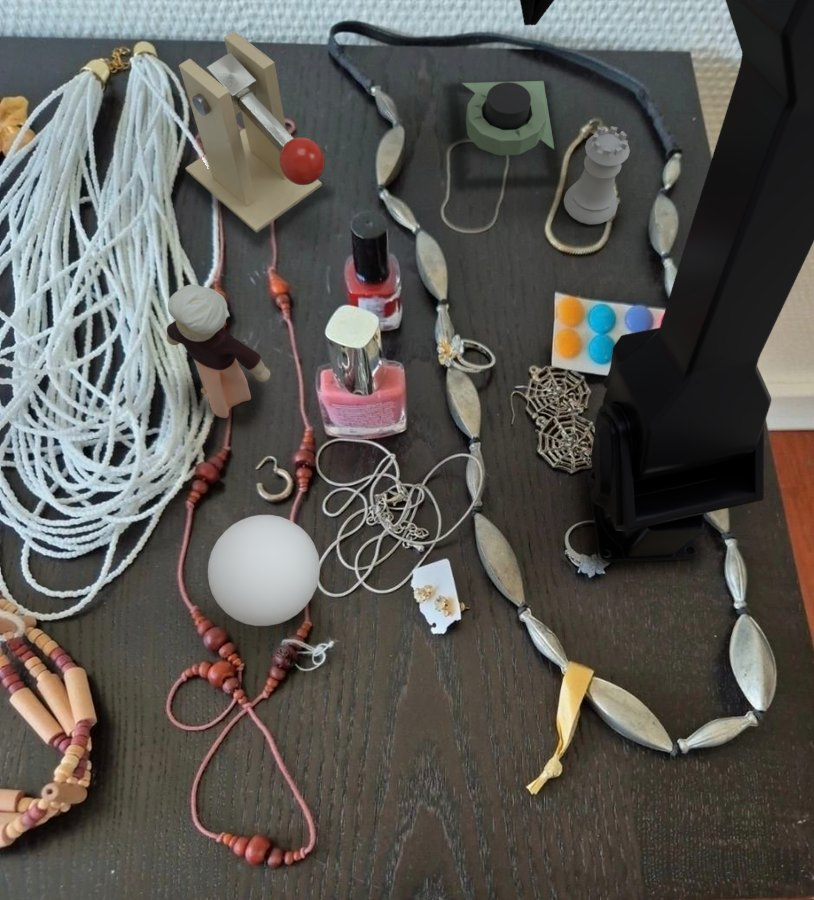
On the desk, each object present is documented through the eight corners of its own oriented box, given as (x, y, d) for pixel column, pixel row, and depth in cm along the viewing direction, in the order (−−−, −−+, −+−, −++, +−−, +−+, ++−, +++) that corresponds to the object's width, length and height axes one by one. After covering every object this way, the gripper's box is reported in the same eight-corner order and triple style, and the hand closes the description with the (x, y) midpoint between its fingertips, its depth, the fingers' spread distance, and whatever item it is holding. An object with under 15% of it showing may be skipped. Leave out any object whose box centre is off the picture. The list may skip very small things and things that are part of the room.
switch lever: (331, 178, 58) (336, 152, 55) (298, 201, 57) (301, 177, 54) (236, 74, 58) (235, 44, 55) (202, 96, 57) (199, 66, 54)
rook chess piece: (570, 241, 63) (592, 167, 56) (551, 199, 65) (570, 122, 57) (622, 229, 64) (651, 155, 56) (602, 188, 65) (627, 110, 58)
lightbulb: (337, 562, 52) (321, 504, 42) (324, 655, 50) (304, 618, 39) (245, 553, 52) (209, 493, 42) (228, 645, 50) (184, 606, 40)
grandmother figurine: (173, 411, 57) (115, 310, 45) (192, 366, 58) (140, 258, 47) (275, 435, 56) (243, 338, 44) (291, 388, 57) (264, 284, 46)
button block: (557, 182, 66) (562, 159, 63) (461, 185, 65) (463, 162, 63) (542, 87, 70) (547, 63, 68) (452, 89, 70) (454, 65, 68)
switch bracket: (323, 193, 65) (307, 71, 54) (258, 240, 63) (228, 123, 52) (253, 134, 68) (224, 7, 57) (188, 178, 66) (146, 55, 55)
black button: (530, 130, 65) (533, 113, 63) (486, 131, 65) (488, 114, 63) (525, 98, 67) (528, 81, 65) (483, 99, 66) (485, 82, 65)
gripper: (720, -336, 44) (642, -57, 58) (387, -331, 44) (390, -51, 58) (767, -225, 39) (670, 48, 54) (394, -218, 39) (396, 56, 53)
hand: (529, 21), depth 55 cm, fingers closed
